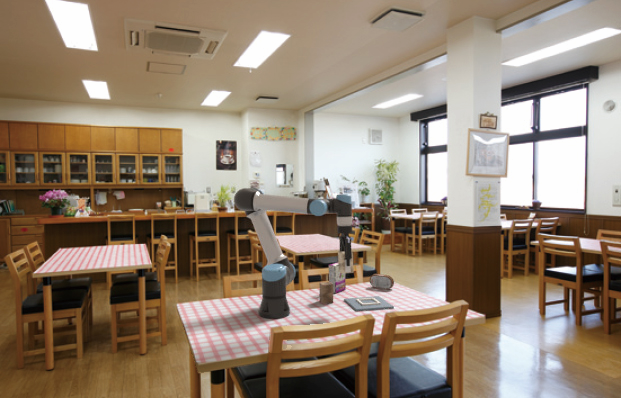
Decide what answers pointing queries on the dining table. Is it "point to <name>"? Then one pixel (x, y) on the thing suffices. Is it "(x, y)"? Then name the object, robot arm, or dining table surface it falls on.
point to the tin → (381, 281)
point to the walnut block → (326, 292)
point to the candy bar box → (336, 278)
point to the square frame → (368, 303)
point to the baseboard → (359, 307)
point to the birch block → (343, 262)
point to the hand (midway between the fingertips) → (345, 271)
